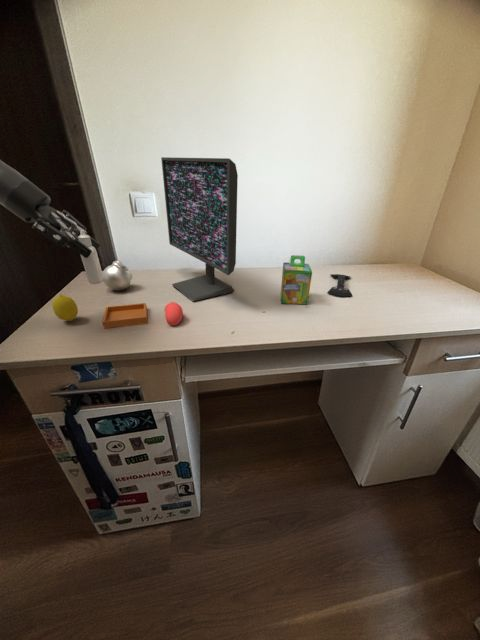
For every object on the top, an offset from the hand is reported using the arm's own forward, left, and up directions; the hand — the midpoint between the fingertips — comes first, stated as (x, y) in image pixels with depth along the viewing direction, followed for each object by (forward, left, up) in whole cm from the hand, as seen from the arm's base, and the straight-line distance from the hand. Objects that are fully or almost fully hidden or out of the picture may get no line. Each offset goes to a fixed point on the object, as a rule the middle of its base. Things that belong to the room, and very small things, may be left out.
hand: (93, 251), depth 67 cm
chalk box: (+57, +4, -20) cm, 61 cm away
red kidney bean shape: (+16, -1, -20) cm, 26 cm away
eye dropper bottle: (-1, 0, -7) cm, 8 cm away
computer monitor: (+28, +21, -20) cm, 40 cm away
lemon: (-12, +6, -20) cm, 24 cm away
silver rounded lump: (0, +28, -20) cm, 35 cm away
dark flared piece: (+81, +12, -20) cm, 84 cm away
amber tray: (+3, +4, -20) cm, 21 cm away
